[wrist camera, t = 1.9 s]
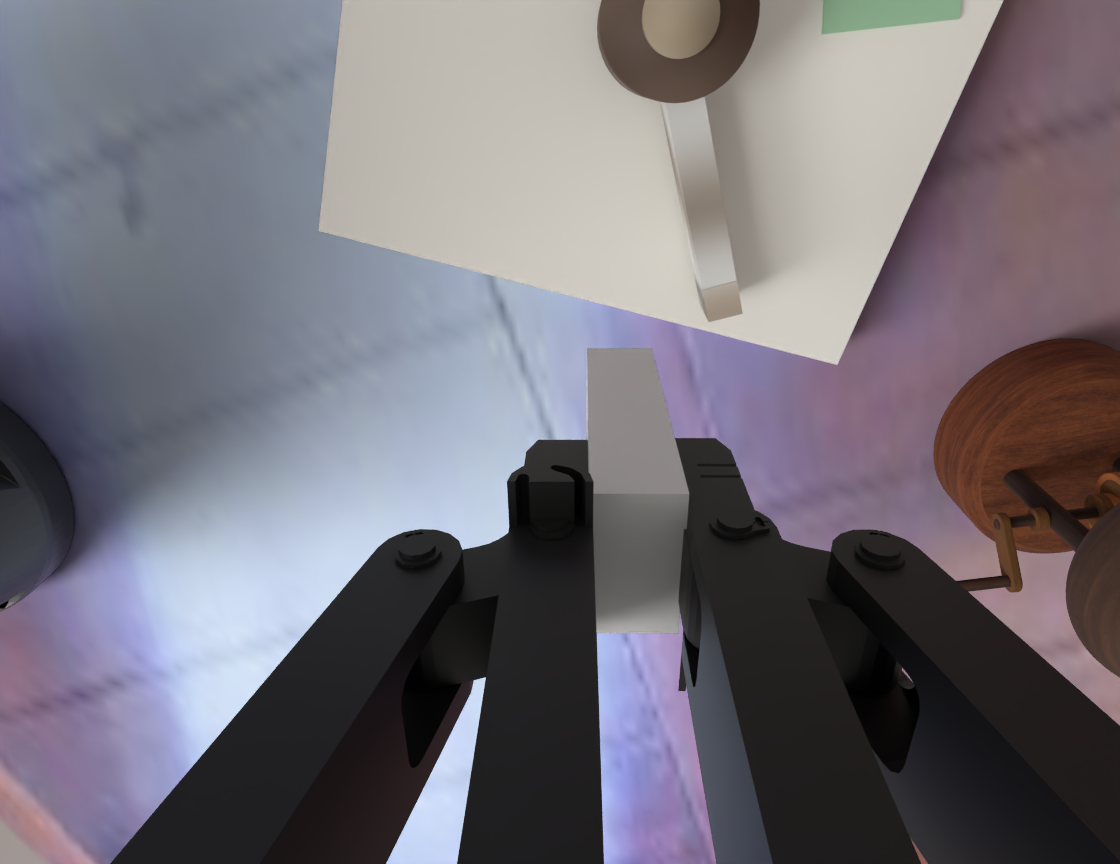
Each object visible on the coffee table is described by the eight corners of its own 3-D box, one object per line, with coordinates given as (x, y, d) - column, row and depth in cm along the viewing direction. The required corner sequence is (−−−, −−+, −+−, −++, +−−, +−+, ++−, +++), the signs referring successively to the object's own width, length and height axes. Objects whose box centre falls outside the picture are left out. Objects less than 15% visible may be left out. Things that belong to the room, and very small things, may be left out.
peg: (582, -28, 27) (583, -51, 22) (717, -72, 26) (748, -107, 21) (659, 315, 32) (674, 357, 27) (772, 286, 32) (807, 324, 27)
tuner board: (335, 221, 33) (316, 231, 31) (410, -441, 24) (392, -497, 22) (821, 347, 35) (838, 366, 33) (1069, -214, 26) (1117, -243, 24)
